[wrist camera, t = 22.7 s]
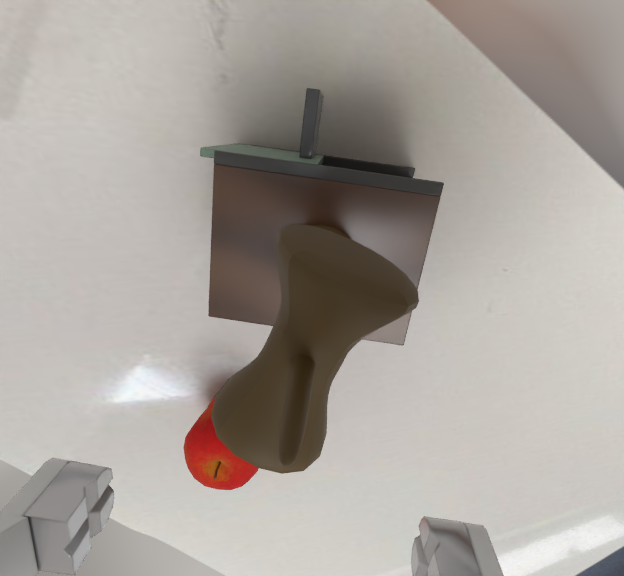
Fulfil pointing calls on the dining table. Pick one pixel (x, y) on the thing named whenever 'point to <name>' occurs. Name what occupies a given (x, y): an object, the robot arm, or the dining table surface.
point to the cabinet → (310, 211)
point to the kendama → (307, 345)
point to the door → (305, 155)
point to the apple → (214, 457)
